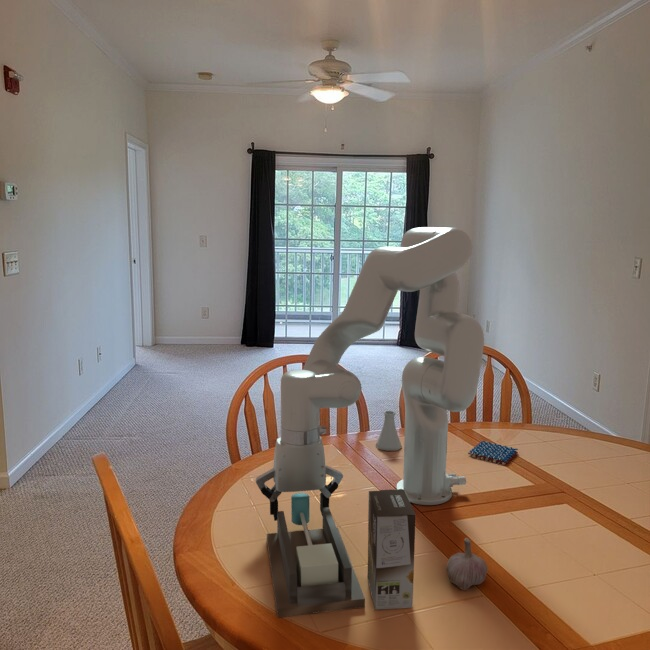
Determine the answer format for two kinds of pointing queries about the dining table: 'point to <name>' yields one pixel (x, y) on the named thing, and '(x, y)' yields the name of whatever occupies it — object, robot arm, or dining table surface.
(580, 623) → the dining table surface
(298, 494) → the cube with teal knob
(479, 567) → the garlic bulb
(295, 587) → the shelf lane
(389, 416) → the flask
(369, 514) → the coffee box
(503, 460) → the woven mat
